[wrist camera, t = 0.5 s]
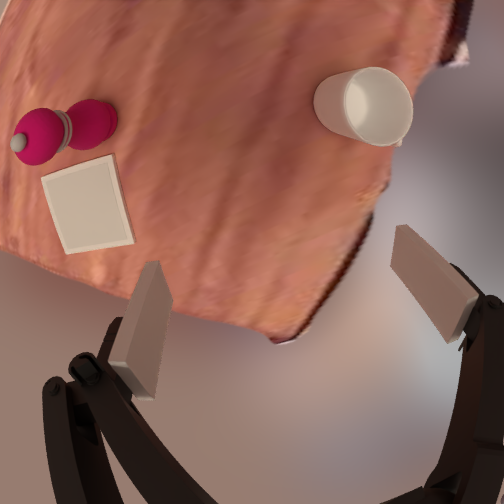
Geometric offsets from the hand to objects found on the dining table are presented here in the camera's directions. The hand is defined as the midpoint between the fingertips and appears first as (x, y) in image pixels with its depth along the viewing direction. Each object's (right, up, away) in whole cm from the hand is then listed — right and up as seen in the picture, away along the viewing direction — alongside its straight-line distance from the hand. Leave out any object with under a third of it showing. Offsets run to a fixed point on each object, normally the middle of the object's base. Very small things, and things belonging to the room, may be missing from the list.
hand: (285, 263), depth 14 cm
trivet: (-29, +8, +25) cm, 39 cm away
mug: (+13, +22, +21) cm, 33 cm away
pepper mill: (-24, +20, +19) cm, 37 cm away
